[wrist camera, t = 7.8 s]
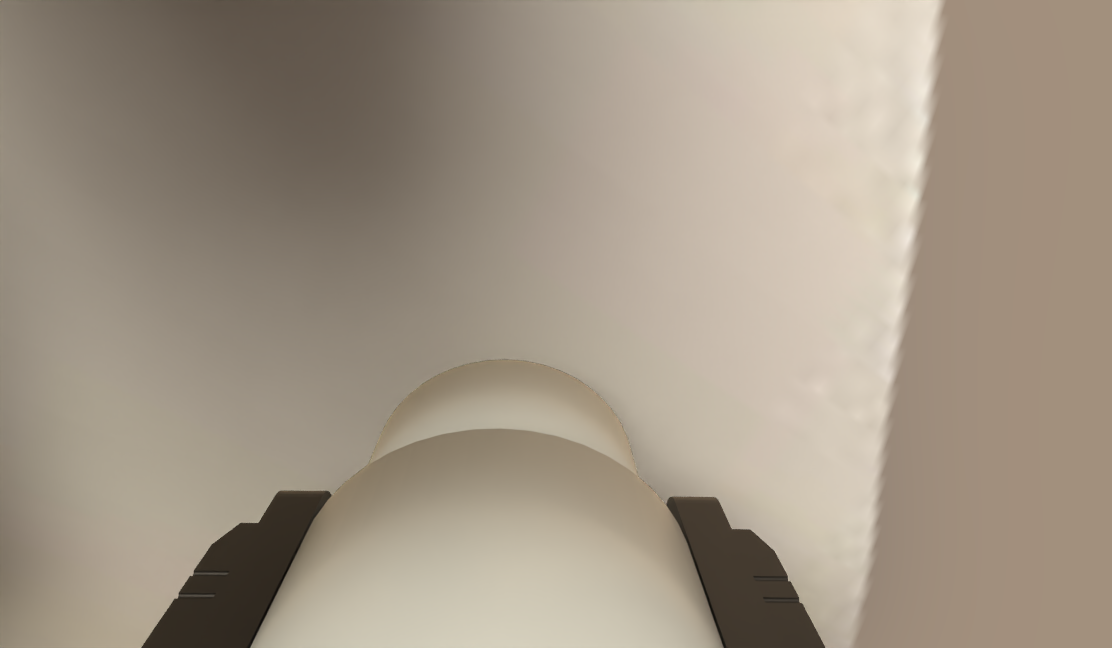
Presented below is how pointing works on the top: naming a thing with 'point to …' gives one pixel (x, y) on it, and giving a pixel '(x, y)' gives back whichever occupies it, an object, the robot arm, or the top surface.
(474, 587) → the white stepped cylinder
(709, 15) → the top surface
